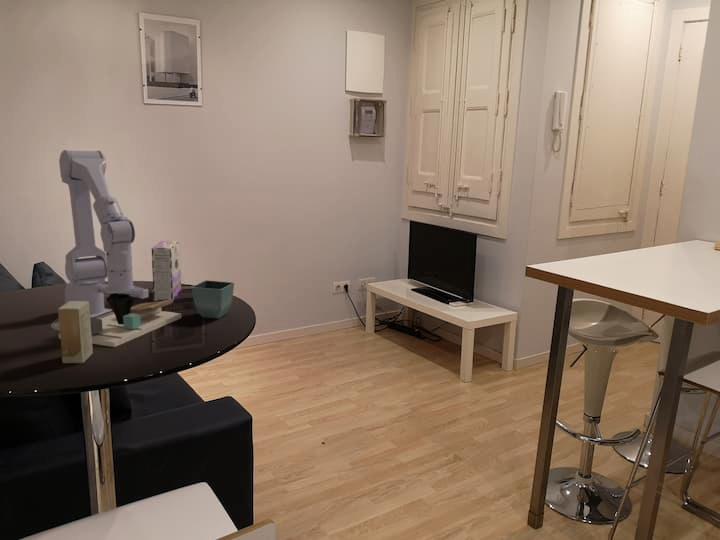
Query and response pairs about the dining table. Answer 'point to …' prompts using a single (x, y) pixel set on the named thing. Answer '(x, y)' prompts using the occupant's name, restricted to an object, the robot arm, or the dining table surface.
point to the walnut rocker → (149, 306)
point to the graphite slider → (96, 326)
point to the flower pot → (213, 298)
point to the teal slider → (131, 321)
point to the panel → (119, 335)
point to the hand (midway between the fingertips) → (122, 323)
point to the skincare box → (75, 331)
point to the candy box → (166, 270)
